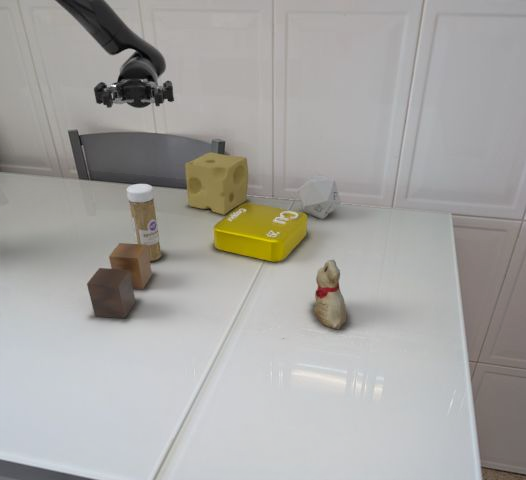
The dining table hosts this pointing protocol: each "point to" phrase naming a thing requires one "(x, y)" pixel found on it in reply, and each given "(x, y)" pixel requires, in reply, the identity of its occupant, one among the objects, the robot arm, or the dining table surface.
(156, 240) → the sprinkles bottle
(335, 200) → the die
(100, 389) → the dining table surface
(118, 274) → the walnut block
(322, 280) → the chocolate bunny
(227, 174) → the cheese
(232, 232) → the element tile
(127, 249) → the oak block
